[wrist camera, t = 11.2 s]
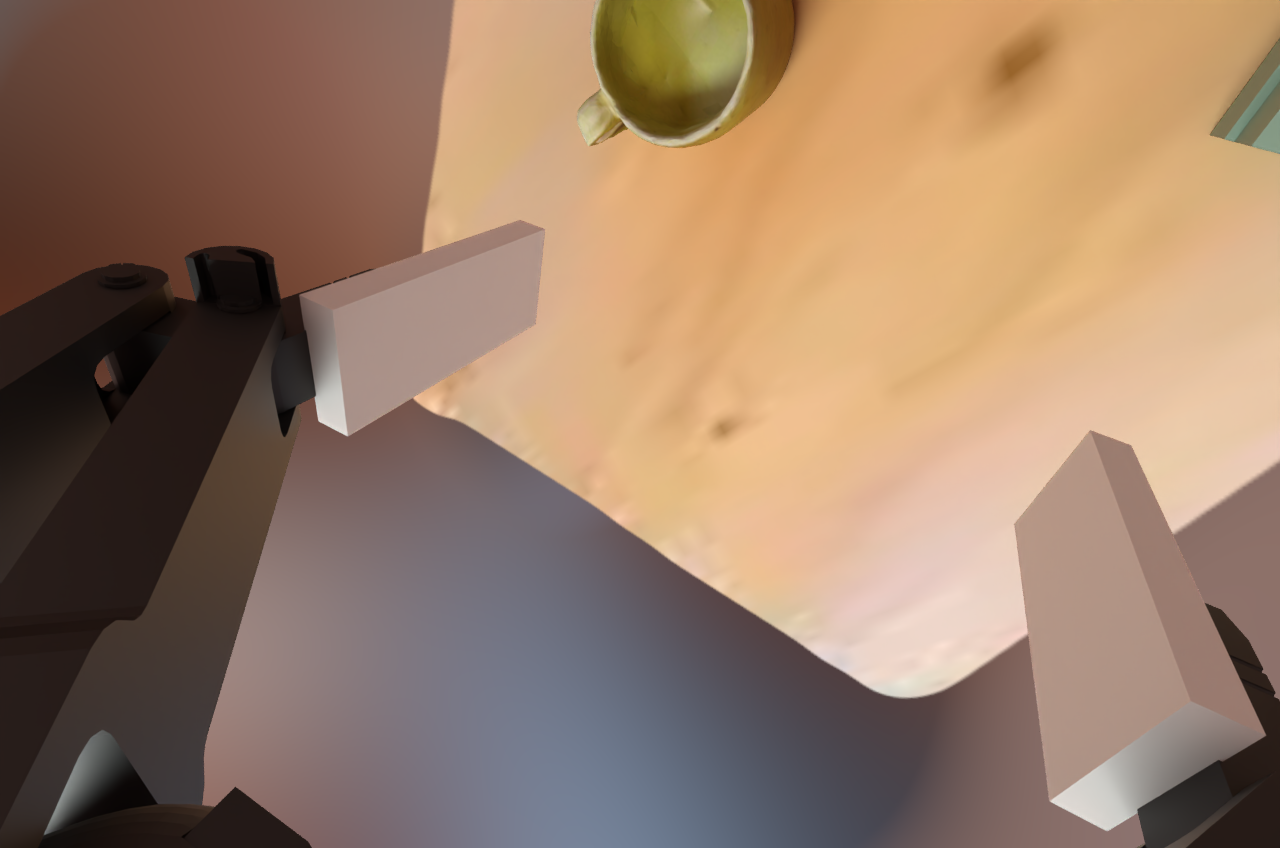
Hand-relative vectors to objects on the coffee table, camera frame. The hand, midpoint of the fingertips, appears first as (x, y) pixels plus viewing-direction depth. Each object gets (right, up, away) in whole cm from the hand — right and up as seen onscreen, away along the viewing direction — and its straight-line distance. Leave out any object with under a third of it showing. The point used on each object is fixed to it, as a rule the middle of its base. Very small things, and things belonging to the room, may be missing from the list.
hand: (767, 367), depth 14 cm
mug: (+1, +21, +22) cm, 30 cm away
